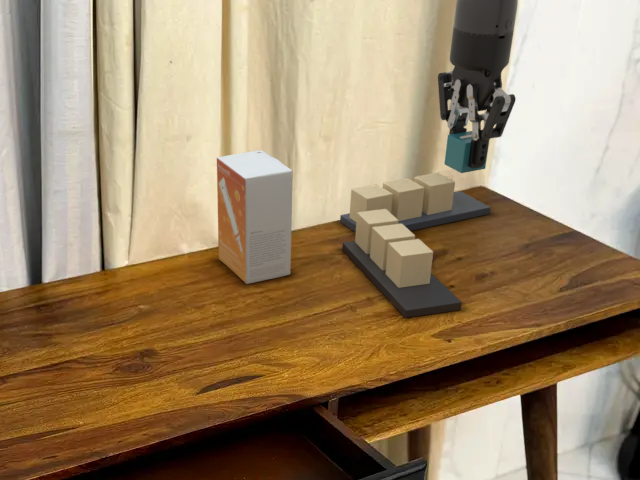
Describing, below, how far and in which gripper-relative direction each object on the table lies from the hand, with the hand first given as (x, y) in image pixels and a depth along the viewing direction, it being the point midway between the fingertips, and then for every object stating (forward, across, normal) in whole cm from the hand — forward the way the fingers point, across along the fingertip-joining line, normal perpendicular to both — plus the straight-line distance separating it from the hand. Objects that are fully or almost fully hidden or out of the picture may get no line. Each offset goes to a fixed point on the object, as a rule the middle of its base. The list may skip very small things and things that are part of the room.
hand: (465, 161), depth 134 cm
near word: (+7, +15, -20) cm, 26 cm away
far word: (+7, 0, -7) cm, 10 cm away
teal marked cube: (+1, 0, 0) cm, 1 cm away
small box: (+7, +4, -35) cm, 36 cm away
